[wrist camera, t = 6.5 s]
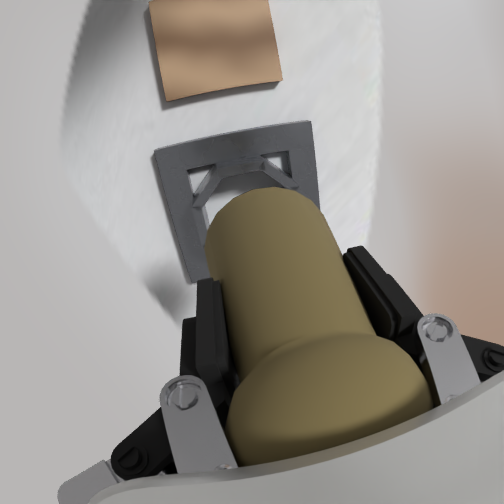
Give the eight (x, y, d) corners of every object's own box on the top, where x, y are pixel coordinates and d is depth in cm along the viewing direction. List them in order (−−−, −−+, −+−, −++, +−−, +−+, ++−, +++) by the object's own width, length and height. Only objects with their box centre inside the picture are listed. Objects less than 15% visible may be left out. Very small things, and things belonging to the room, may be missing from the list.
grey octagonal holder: (156, 148, 25) (148, 155, 22) (307, 120, 26) (320, 123, 23) (192, 277, 32) (191, 297, 29) (319, 251, 32) (330, 268, 29)
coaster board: (150, 4, 18) (148, 1, 18) (262, -15, 19) (263, -18, 18) (168, 101, 23) (166, 101, 22) (280, 81, 24) (282, 80, 23)
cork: (226, 311, 16) (252, 523, 6) (186, 209, 13) (156, 482, 3) (334, 279, 16) (433, 465, 6) (318, 172, 13) (510, 362, 3)
